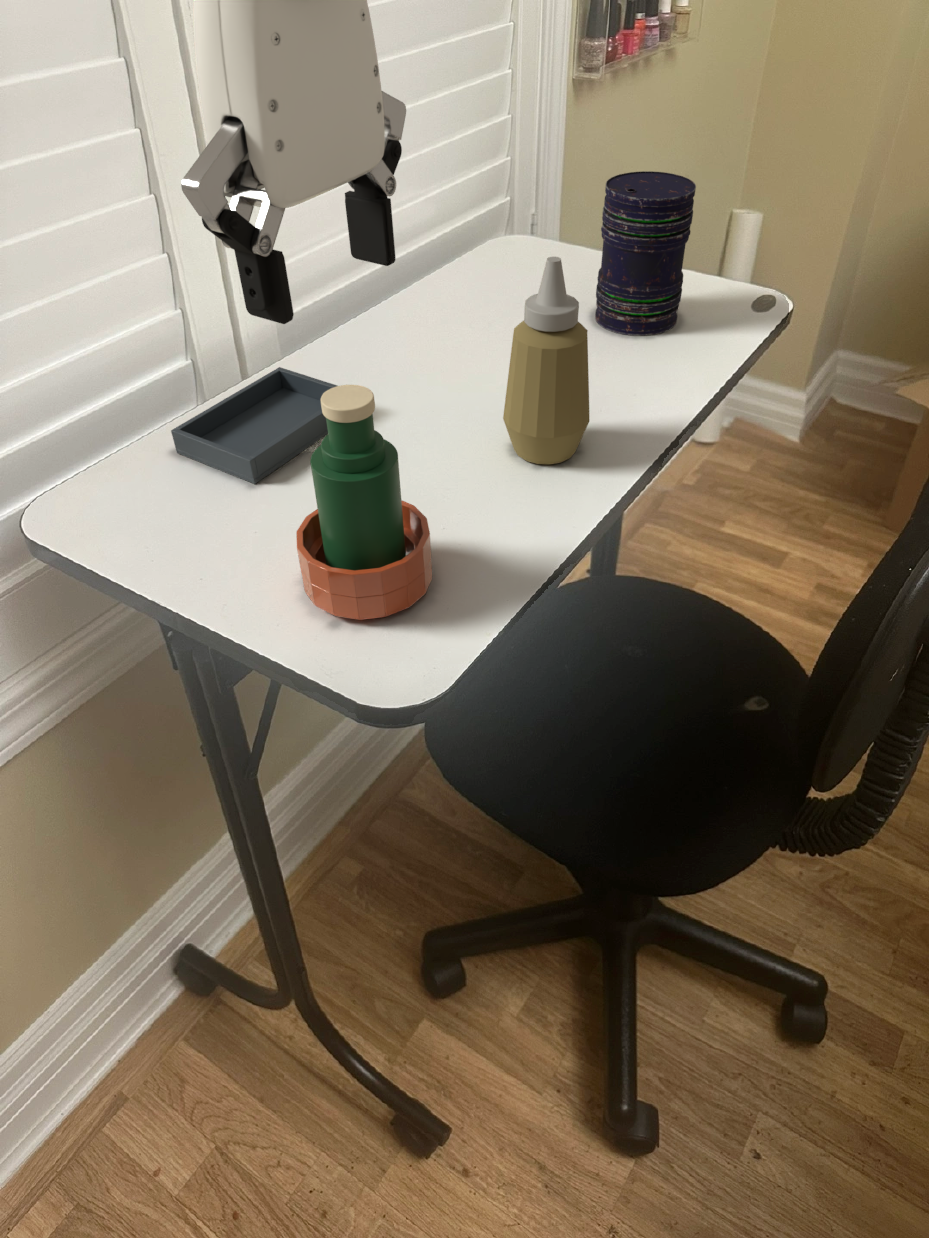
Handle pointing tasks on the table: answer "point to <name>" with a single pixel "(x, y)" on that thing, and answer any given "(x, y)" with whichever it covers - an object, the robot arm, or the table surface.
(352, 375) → the table surface
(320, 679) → the table surface
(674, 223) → the oil drum
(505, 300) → the table surface
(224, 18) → the robot arm
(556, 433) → the squeeze bottle
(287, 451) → the tray
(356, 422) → the bottle
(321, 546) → the bowl
